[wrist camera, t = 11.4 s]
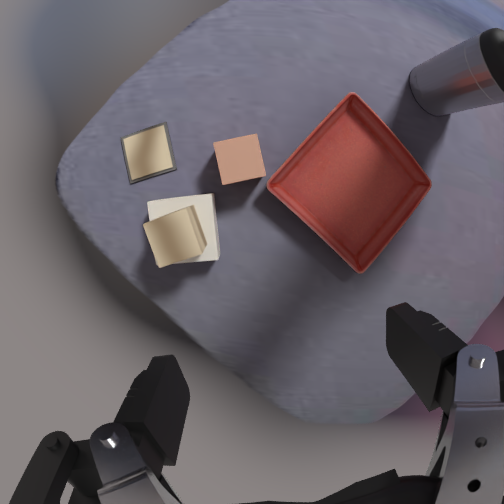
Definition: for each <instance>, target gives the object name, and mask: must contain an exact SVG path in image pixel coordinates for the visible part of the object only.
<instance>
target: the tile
mask: <svg viewBox="0 0 504 504" xmlns="http://www.w3.org/2000/svg"><path fill="white" fill-rule="evenodd" d="M121 141H122V147H123V152H124V157H125V161H126V166H127V171H128V175H129V180H130V184H132V183H135V182H138V181H141V180H144V179H147V178H150V177H153V176H156V175H159V174H163V173H166V172H169V171H172V170H176V169H177V167H176V163H175V159H174V154H173V150H172V145H171V141H170V136H169V132H168V127H167V122H164V123H161V124H158V125H155V126H152V127H149V128H146V129H143V130H140V131H137V132H135V133H132V134H129V135H127V136H124V137H121Z"/></svg>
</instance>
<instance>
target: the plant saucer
mask: <svg viewBox="0 0 504 504" xmlns="http://www.w3.org/2000/svg"><path fill="white" fill-rule="evenodd" d="M266 186H267V189H268V190H269V191H270V192H271V193H272V194H273V195H274V196H275V197H277V198H278V199H279V200H280V201H281V202H282V203H283V204H285V205H286V206H287V207H288V208H289V209H290V210H291V211H292V212H293V213H295V214H296V215H297V216H298V217H299V218H300V219H301V220H302V221H303V222H304V223H306V224H307V225H308V226H309V227H310V228H311V229H312V230H313V231H314V232H315V233H316V234H317V235H318V236H319V237H321V238H322V239H323V240H324V241H325V242H326V243H327V244H328V245H329V246H330V247H331V248H332V249H333V250H334V251H335V252H336V253H337V254H338V255H339V256H340V257H341V258H342V259H343V260H344V261H345V262H346V263H347V264H348V265H349V266H350V267H351V268H352V269H353V270H354V271H356V272H357V273H359V274H362V273H364V272H365V271H366V270H367V268H368V267H369V266H370V265H371V264H372V263H373V261H374V260H375V259H376V258H377V257H378V255H379V254H380V253H381V252H382V251H383V250H384V248H385V247H386V246H387V245H388V244H389V242H390V241H391V240H392V238H393V237H394V236H395V235H396V233H397V232H398V231H399V230H400V228H401V227H402V226H403V225H404V224H405V222H406V221H407V220H408V218H409V217H410V216H411V214H412V213H413V212H414V210H415V209H416V208H417V206H418V205H419V204H420V202H421V201H422V200H423V198H424V197H425V196H426V194H427V193H428V191H429V190H430V188H431V186H432V183H431V180H430V179H429V177H428V176H427V174H426V173H425V172H424V170H423V169H422V168H421V166H420V165H419V164H418V162H417V161H416V160H415V159H414V157H413V156H412V155H411V153H410V152H409V151H408V150H407V149H406V147H405V146H404V145H403V144H402V142H401V141H400V140H399V139H398V138H397V136H396V135H395V134H394V133H393V132H392V131H391V130H390V128H389V127H388V126H387V125H386V124H385V123H384V122H383V121H382V120H381V118H380V117H379V116H378V115H377V114H376V113H375V112H374V111H373V110H372V109H371V108H370V107H369V106H368V105H367V104H366V103H365V102H364V101H363V100H362V99H361V98H360V97H359V96H358V95H357V94H356V93H354V92H350V93H348V94H347V95H346V96H345V97H344V99H343V100H342V101H341V102H340V103H339V104H338V105H337V106H336V107H335V108H334V109H333V110H332V111H331V112H330V113H329V114H328V115H327V116H326V117H325V118H324V119H323V120H322V121H321V122H320V123H319V125H318V126H317V127H316V128H315V129H314V130H313V131H312V132H311V134H310V135H309V136H308V137H307V138H306V139H305V140H304V141H303V142H302V143H301V144H300V146H299V147H298V148H297V149H296V150H295V151H294V152H293V153H292V154H291V156H290V157H289V158H288V159H287V160H286V161H285V162H284V163H283V164H282V166H281V167H280V168H279V169H278V170H277V171H276V172H275V173H274V174H273V175H272V177H271V178H270V179H269V180H268V181H267V184H266Z"/></svg>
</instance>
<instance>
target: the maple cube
mask: <svg viewBox="0 0 504 504" xmlns="http://www.w3.org/2000/svg"><path fill="white" fill-rule="evenodd" d="M143 226H144V229H145V232H146V235H147V237H148V240H149V243H150V245H151V248H152V251H153V253H154V256H155V258H156V261H157V263H158V266H159V268H161V267H164V266H167V265H170V264H173V263H176V262H179V261H182V260H185V259H188V258H191V257H195V256H198V255H201V254H202V253H203V251H204V249H205V247H206V246H207V241H206V238H205V236H204V233H203V230H202V227H201V224H200V221H199V218H198V215H197V213H196V210H195V207H194V205H191V206H188V207H185V208H183V209H180V210H177V211H174V212H172V213H169V214H166V215H164V216H161V217H158V218H156V219H154V220H151V221H149V222H147V223H145V224H143Z"/></svg>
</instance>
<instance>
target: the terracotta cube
mask: <svg viewBox="0 0 504 504" xmlns="http://www.w3.org/2000/svg"><path fill="white" fill-rule="evenodd" d="M213 144H214V148H215V153H216V158H217V162H218V167H219V171H220V176H221V180H222V185H227V184H231V183H236V182H241V181H245V180H250V179H255V178H260V177H264V176H266V173H265V168H264V164H263V159H262V155H261V150H260V146H259V141H258V137H257V134H252V135H247V136H242V137H237V138H233V139H228V140H224V141H219V142H215V143H213Z"/></svg>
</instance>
